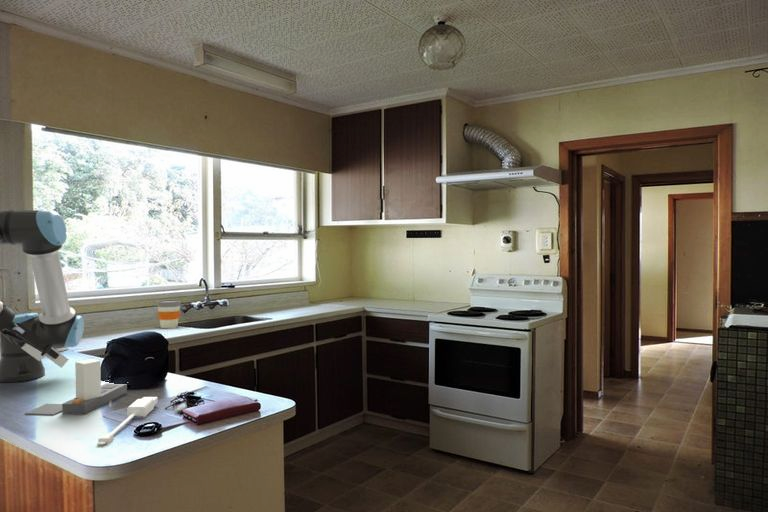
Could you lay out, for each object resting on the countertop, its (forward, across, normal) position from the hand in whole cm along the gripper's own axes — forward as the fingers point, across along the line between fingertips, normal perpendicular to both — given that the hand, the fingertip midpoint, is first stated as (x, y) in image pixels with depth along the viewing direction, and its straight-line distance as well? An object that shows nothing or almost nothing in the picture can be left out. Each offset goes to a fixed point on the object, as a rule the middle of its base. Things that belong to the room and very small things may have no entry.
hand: (53, 360), depth 156 cm
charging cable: (+18, +23, -5) cm, 30 cm away
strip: (+23, -4, 0) cm, 24 cm away
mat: (+13, -7, -10) cm, 18 cm away
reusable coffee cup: (+88, -109, +66) cm, 155 cm away
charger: (+16, 0, -2) cm, 17 cm away
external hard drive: (+29, -18, +5) cm, 34 cm away
